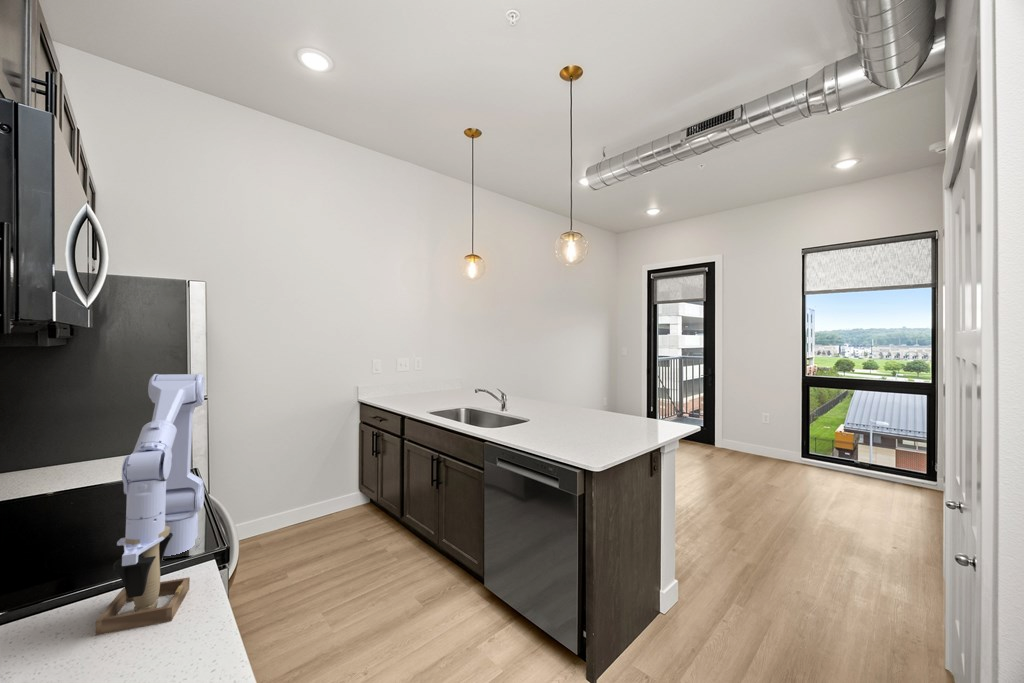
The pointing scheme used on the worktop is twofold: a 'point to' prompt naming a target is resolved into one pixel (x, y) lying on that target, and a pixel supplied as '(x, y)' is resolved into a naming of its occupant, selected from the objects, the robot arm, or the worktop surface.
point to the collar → (146, 617)
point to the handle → (150, 576)
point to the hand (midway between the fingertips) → (144, 584)
